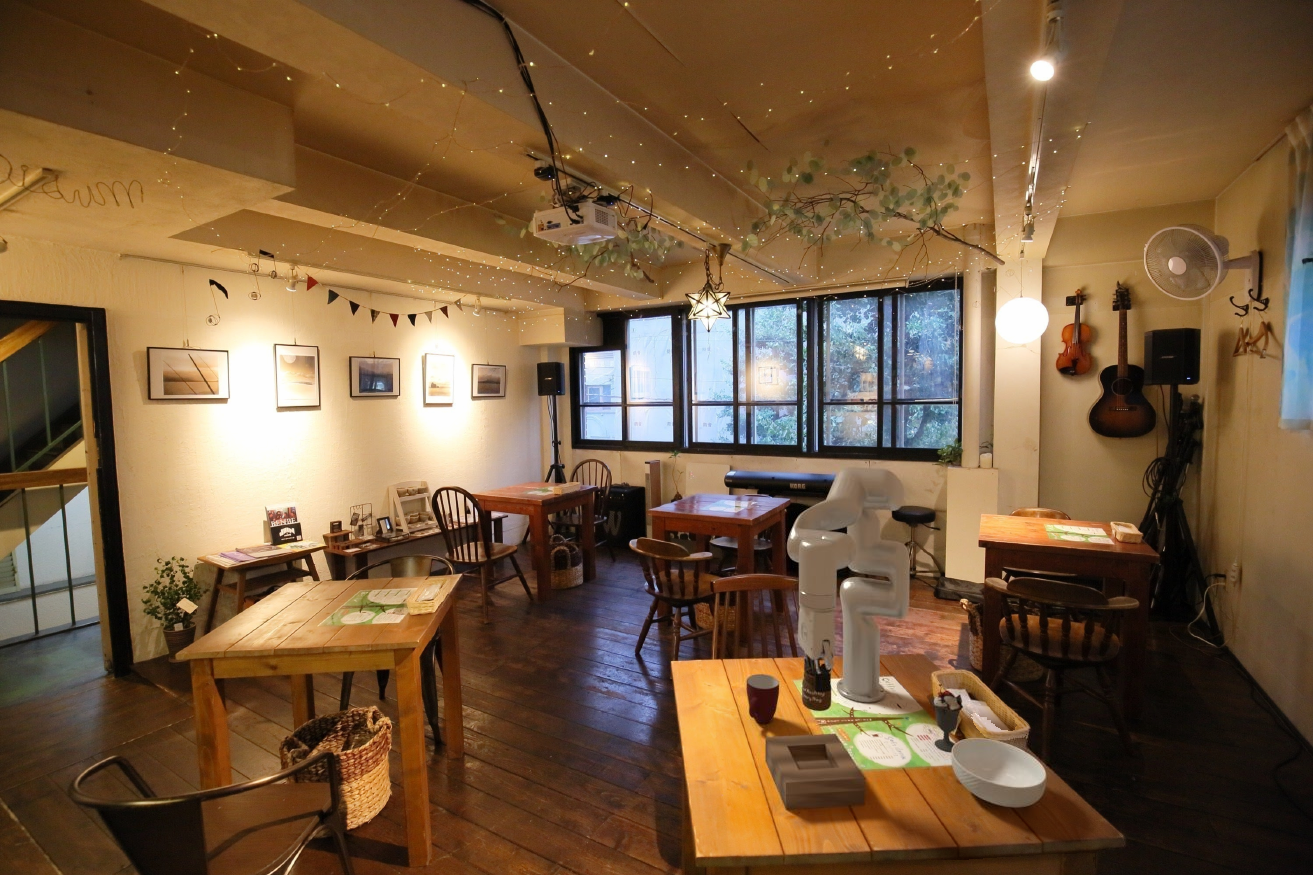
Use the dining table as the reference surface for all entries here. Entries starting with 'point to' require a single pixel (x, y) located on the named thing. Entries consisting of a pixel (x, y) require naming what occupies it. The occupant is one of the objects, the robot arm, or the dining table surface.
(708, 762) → the dining table surface
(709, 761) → the dining table surface
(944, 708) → the sundae
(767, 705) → the mug
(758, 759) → the dining table surface
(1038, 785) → the cereal bowl
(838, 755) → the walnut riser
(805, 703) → the utensil holder
